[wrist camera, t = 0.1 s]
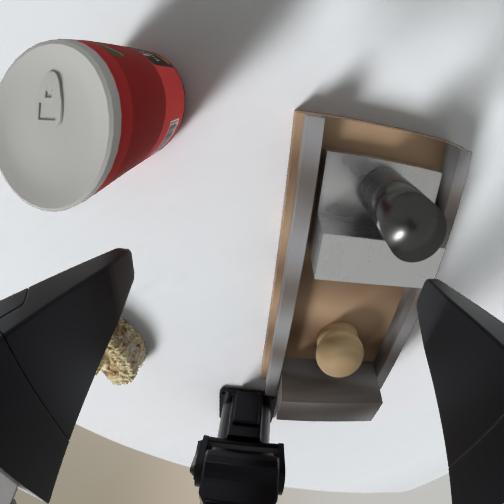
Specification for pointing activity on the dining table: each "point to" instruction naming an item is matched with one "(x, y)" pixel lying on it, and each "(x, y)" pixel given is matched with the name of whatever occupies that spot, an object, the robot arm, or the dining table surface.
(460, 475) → the robot arm
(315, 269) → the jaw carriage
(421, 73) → the dining table surface
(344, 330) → the tan rounded piece
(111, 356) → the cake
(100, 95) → the canned food
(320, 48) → the dining table surface
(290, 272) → the press base
